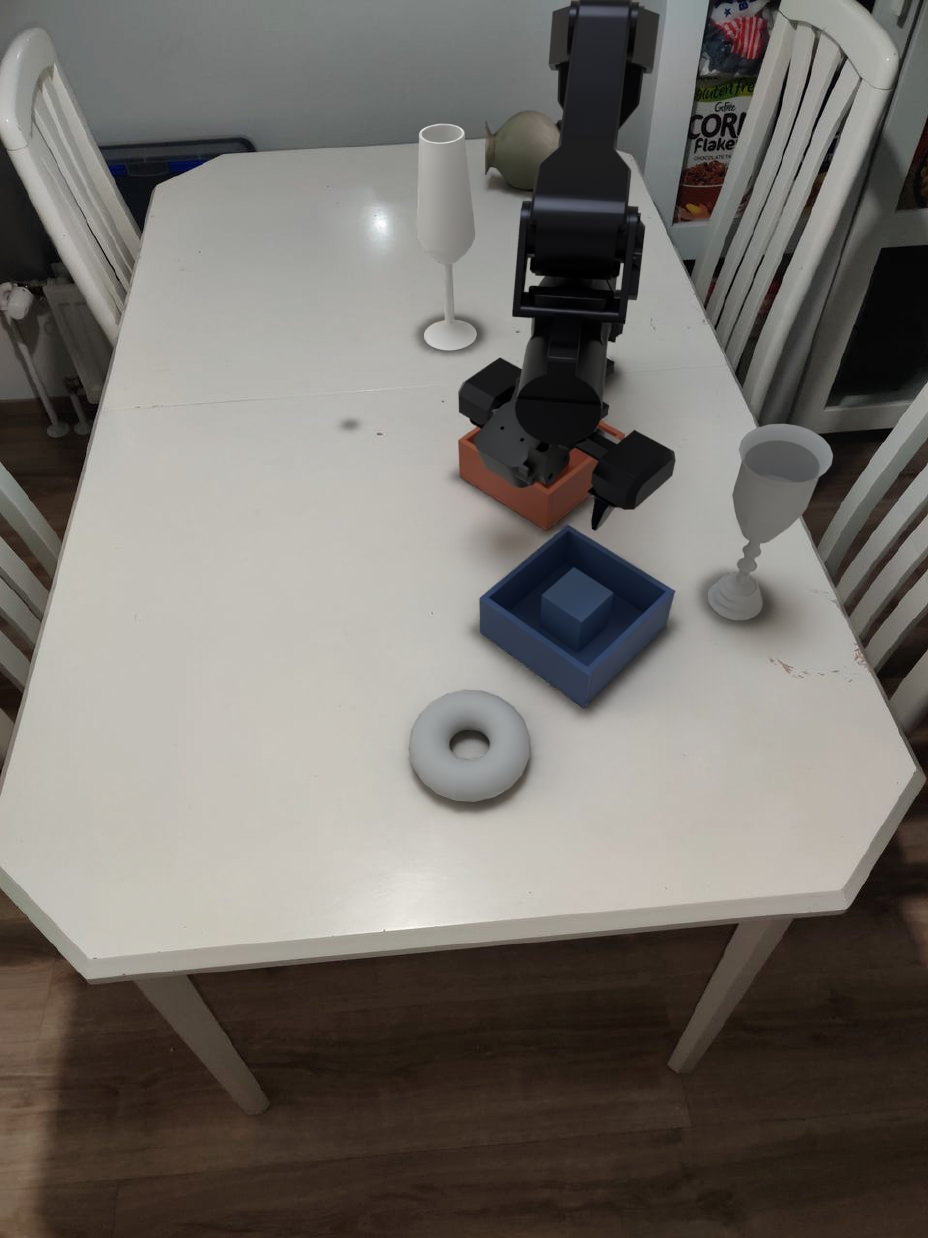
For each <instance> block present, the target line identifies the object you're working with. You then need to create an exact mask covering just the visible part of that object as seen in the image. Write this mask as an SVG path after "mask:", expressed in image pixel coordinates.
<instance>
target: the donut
mask: <svg viewBox="0 0 928 1238" xmlns="http://www.w3.org/2000/svg"><path fill="white" fill-rule="evenodd" d="M466 730H471V731H477V732H480V733H482V734H483V735H485V737H486V738H487V739H488V741H489V747H488V750H486V752H485V753H484V754H483V755H481V756H479V757H477V758H472V759H469V758H468V759H467V758H462V757H459V756H457V755H456V754H454V753H453V751H452V750H451V746H450V742H451V740H452V738H453V737H454V736H455V735H456V734H458V733H460V732H462V731H466ZM408 753H409V758H410V762H411V766H412V768H413V769H414V771H415V773H416V774H417V776H418V777H419V779H420V780H421V782H422V783H423V784H424V785H425V786H427V787H428V788H429V789H430V790H432V791H433V792H434V793H436V794H437V795H439V796H442V797H445V798H447V799H450V800H452V801H455V802H473V803H474V802H480V801H484V800H489V799H492V798H495V797H497V796H499V795H501V794H502V793H503V792H506V791H508V790H510V789H511V788H512V787H513V785H514V784H515V783H516V782H517V781H518V780H519V779H520V778H521V776H523V774H524V771H525V769H526V766H527V764H528V761H529V759H530V757H531V735H530V733H529V729H528V726H527V724H526V721H525V719H524V718H523V716H522V715H521V714H520V712H519V711H518V710H517V708H515V706H514V705H512V704H511V703H509V702H508V701H506V699H503V698H502V697H500V696H499V695H496V694H493V693H490V692H487V691H484V690H478V689H477V690H476V689H462V690H457V691H452V692H448V693H446V694H444V695H442V696H440V697H438V698H436V699H435V700H433V701H431V702H430V703H429V704H428V705H427V706H426V707H425V708H424V709H422V711H421V712H420V713H418V715H417V717H416V719H415V722H414V723H413V725H412V727H411V729H410V734H409V742H408Z"/></svg>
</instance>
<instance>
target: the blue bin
mask: <svg viewBox="0 0 928 1238" xmlns="http://www.w3.org/2000/svg"><path fill="white" fill-rule="evenodd" d="M573 567H575V568H576V569H578V570H579V571H581V572H582V573H584V574H585V575H587V576H589V577H590V578H592V579H593V580H595V581H596V582H598V583H599V584H601V585H603V586H604V587H606V588H607V589H609V590H610V591H612V592H613V599H612V604H611V610H610V616H609V622H608V624H607V625H606V626H605V627H604V628H603V629H602V630H601V631H600V632H599V633H598V634H597V635H596V636H595V637H594V638H593V639H592V640H590V641H589V642H588V643H587V644H586V645H585V646H584V647H583V648H582V649H581V650H580V651H579V652H578V653H577V652H576V651H574V650H573V649H571V648H570V647H569V646H567V645H566V644H564V643H563V642H561V641H560V640H559V639H557V638H556V637H554V636H553V635H551V634H550V633H549V632H547V631H546V630H544V629H543V628H541V627H540V613H541V599H542V594H544V593H545V592H546V591H547V590H548V589H549V588H550V587H552V586H553V585H554V584H555V583H556V582H557V581H558V580H560V579H561V578H562V577H563V576H564V575H565V574H566V573H568V572H569V571H570V570H571V569H572V568H573ZM675 594H676V590H675V589H673V588H671V587H670V586H669V585H667V584H665V583H664V582H661V581H660V580H659V579H657V578H656V577H654V576H652V575H651V574H648V572H645V571H644V570H642V569H641V568H639V567H637V566H636V565H635V564H633V563H631V562H629V561H628V560H626V559H624V558H623V557H621V556H619V555H618V554H617V553H615V552H613V551H611V550H610V549H608V548H607V547H606V546H603V545H602V544H600V543H599V542H597V541H595V540H594V539H592V538H590V537H589V536H588V535H586V534H584V533H583V532H582V531H580V530H578V529H576V528H574V527H573V526H571V525H570V524H568V523H567V524H566V525H565V526H563V528H561V529H560V530H558V532H556V533H555V534H554V535H553V536H552V537H550V538H549V539H548V540H547V541H546V542H545V543H543V544H542V545H541V546H540V547H539V548H537V549H536V550H535V551H534V552H533V553H531V554H530V555H529V556H528V557H527V558H525V559H524V560H523V561H522V562H520V563H519V564H518V565H517V566H515V567H514V568H513V569H512V570H511V571H510V572H508V573H507V574H506V575H505V576H504V577H502V578H501V580H499V581H498V582H497V583H495V584H494V585H493V586H492V587H491V588H489V589H488V590H487V591H486V592H484V593H483V594H482V595H481V596H480V597H479V598H478V600H479V601H478V602H479V603H478V604H479V605H478V606H479V607H478V608H479V633H480V634H482V635H483V636H484V637H486V638H487V639H488V640H490V641H491V642H492V643H494V644H495V645H496V646H498V648H499V647H500V649H502V650H504V651H505V652H506V653H508V654H509V655H510V656H512V657H513V658H515V659H516V660H517V661H519V662H520V663H521V664H523V665H524V666H525V667H526V668H528V669H530V670H531V671H532V672H534V673H535V674H537V676H539V677H540V678H542V679H543V680H545V682H547V683H548V684H550V685H551V686H552V687H554V688H555V689H556V690H558V691H559V692H561V693H562V694H564V696H566V697H567V698H569V699H570V700H571V701H573V702H574V703H575V704H577V705H579V706H580V707H581V708H583V709H584V708H585V707H586V706H588V704H589V703H590V702H592V700H593V699H594V698H595V697H596V696H597V695H598V694H599V693H600V692H601V691H603V690H604V688H606V687H607V685H608V684H609V683H610V682H612V681H613V679H615V677H617V676H618V674H619V673H621V671H623V669H624V668H625V667H627V666H628V664H630V663H631V662H632V660H634V659H635V658H636V657H637V655H639V654H640V653H641V652H642V651H643V650H644V649H645V648H646V646H648V645H649V644H650V643H651V642H652V641H653V640H654V639H655V637H657V636H658V635H659V634H660V633H661V632H662V631H663V630H664V629H665V628H666V627H667V625H668V621H669V617H670V613H671V609H672V606H673V602H674V598H675Z"/></svg>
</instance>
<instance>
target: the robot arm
mask: <svg viewBox="0 0 928 1238" xmlns="http://www.w3.org/2000/svg"><path fill="white" fill-rule="evenodd" d="M645 7H646V6H645V5H640V1H633V0H570V3H569V5H568V6H564V7H561V8H559V9H555V10H553V11H552V12H551V23H550V24H551V26H550V40H549V53H548V67H549V69H550V71H553V72H555V71H556V72H557V98H556V99H557V103H558V105H559V107H560V108H561V110H562V116H561V120H562V123H561V130H560V137H559V144H558V148H557V149H556V150H555V151H554V152H552V153H551V154H550V155H549V156H548V157H547V158H546V159H544V160H543V161H542V162H541V163H540V164H539V165H538V167H537V172H536V178H535V183H534V189H532V195H531V200H522V202H521V208H520V214H519V225H518V235H517V236H518V237H517V248H516V249H517V250H516V261H515V275H514V284H513V285H514V286H513V299H512V310H511V317H512V318H521V319H522V318H523V319H531V325H530V326H531V327H530V337H529V339H528V341H527V344H526V345H525V351H524V355H523V363H522V367H519V366H517V365H516V364H513V363H511V362H510V361H508V360H506V359H504V358H502V357H498V358H496V359H495V360H493V361H491V362H490V363H489V364H488V365H486V366H485V367H483V368H482V369H480V370H478V372H476V373H475V374H473V375H472V376H470V377H469V378H467V379H466V380H465V381H463V382H462V384H461V385H460V387H459V389H458V392H457V393H458V394H457V395H458V397H457V399H458V413H459V414H460V415H463V416H464V417H465V418H467V419H468V420H469V422H470V424H472V425H473V426H475V428H476V427H478V428H480V429H481V430H480V431H479V432H478V434H477V435H476V437H475V439H474V443H475V446H476V448H477V450H478V453H479V455H480V457H481V459H482V462H483V464H484V466H485V468H486V469H488V470H489V471H491V472H494V473H495V474H497V475H499V476H500V477H502V478H503V479H505V480H507V481H508V482H509V483H510V484H512V485H513V486H515V487H517V488H525V487H528V486H529V485H531V486H532V485H534V484H535V483H536V482H538V481H540V482H543V483H544V484H546V485H549V484H552V483H553V482H554V481H555V479H556V478H557V477H558V476H559V475H560V473H561V472H562V471H563V470H564V469H565V467H566V466H567V465H568V463H569V461H570V454H569V452H570V451H571V450H573V449H574V448H576V449H578V450H580V451H581V452H583V453H585V454H587V455H588V456H590V457H592V458H594V459H595V460H597V461H598V463H597V465H596V467H595V468H594V470H593V472H592V477H591V484H592V485H593V487H592V488H590V489H589V490H588V491H587V492H588V493H589V494H590V496H592V497H594V499H593V505H592V512H591V517H590V523H591V525H590V526H591V527H590V528H591V530H593V531H594V532H597V530H599V529H600V528H601V527H602V526H603V525H604V523H605V522H606V521H607V520H608V518H609V517H610V516H611V514H612V513H613V512H614V511H615V509H621V510H623V511H631V510H633V511H634V510H636V509H637V508H638V507H639V506H641V504H643V502H645V501H646V500H647V499H648V498H649V497H650V496H651V495H652V494H654V493H655V492H656V491H657V490H658V489H659V488H660V487H662V485H664V484H665V483H666V482H667V481H669V479H670V478H671V477H673V474H674V470H675V465H676V461H677V460H676V453H675V451H674V450H673V449H671V448H669V447H668V446H666V445H663V444H662V443H660V442H658V441H656V440H654V439H653V438H650V437H649V436H648V435H645V434H643V433H641V432H639V431H638V430H636V429H633V431H630V433H629V434H627V435H625V438H624V439H623V440H619V439H618V438H616V437H614V436H612V435H610V434H608V433H607V432H605V431H603V430H601V429H599V428H598V424H599V422H600V421H602V420H604V419H605V418H606V417H607V416H608V415H609V410H610V404H609V403H607V402H605V401H604V394H605V393H604V391H605V382H606V379H608V378H609V377H610V376H612V375H613V374H614V373H615V365H616V361H614V360H612V359H610V358H608V356H607V354H608V346H609V345H608V344H609V342H610V343H613V344H616V342H617V338H618V337H619V336H620V335H623V332H624V325H626V323H627V322H626V321H627V314H628V313H627V312H628V306H629V305H628V304H629V301H638V296H639V288H640V280H641V279H640V278H641V270H642V262H643V252H644V244H645V235H646V225H645V224H644V222H643V221H642V220H641V217H642V213H641V212H639V208H640V207H639V206H637V205H636V206H635V205H629V201H630V191H631V182H632V181H631V180H632V169H631V167H630V166H629V164H628V163H627V162H626V161H625V159H624V158H623V157H622V156H621V155H620V153H619V152H618V151H617V147H618V139H619V131H620V129H621V128H622V127H623V126H624V125H625V123H626V122H627V121H628V119H629V118H630V117H631V115H633V114H634V112H635V111H636V110H637V108H638V107H639V105H640V102H641V97H642V95H641V94H642V87H643V79H644V75H652V74H653V71H654V68H655V59H656V51H657V43H658V42H657V41H658V34H659V25H660V17H661V14H660V13H657V12H655V11H652V10H649V9H646V8H645ZM529 259H530V260H529ZM528 262H529V271H530V272H531V274H534V275H535V277H543V278H542V279H541V281H540V282H539V284H538V285H529V286H528V290H527V291H525V289H526V280H527V272H528ZM621 264H623V266H622V275H621ZM620 275H621V283H620V284H621V285H620V289H617V281H618V277H620Z"/></svg>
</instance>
